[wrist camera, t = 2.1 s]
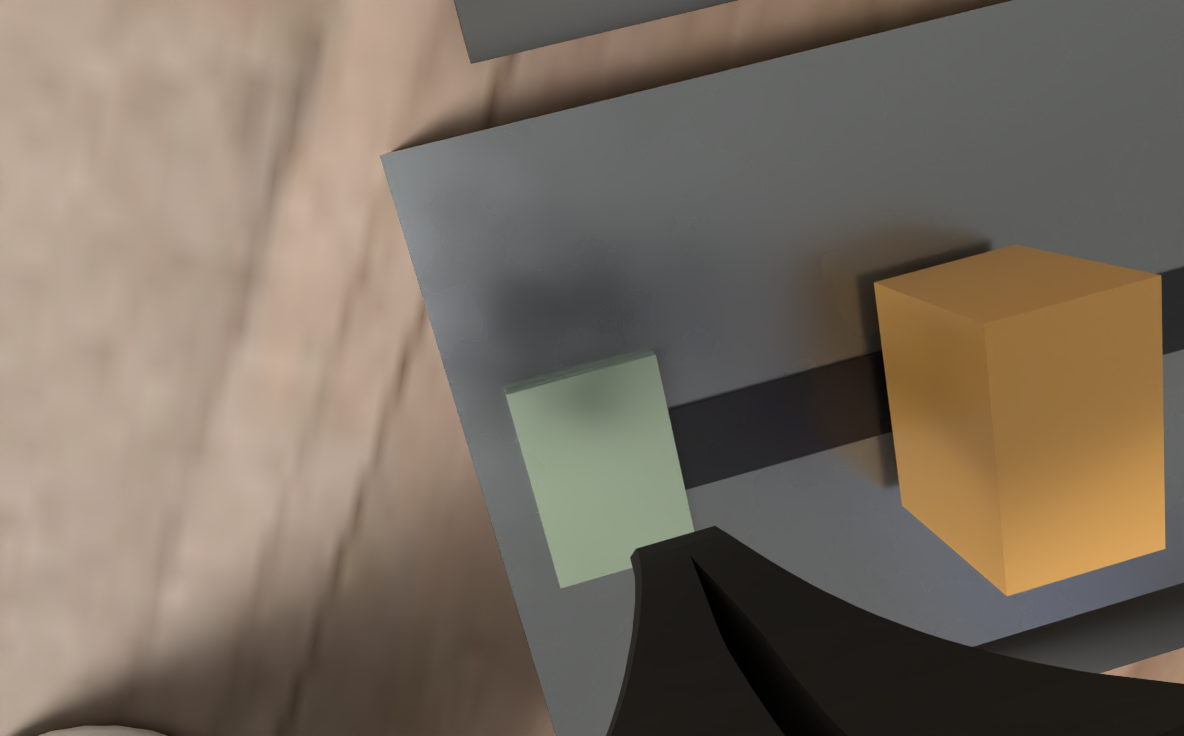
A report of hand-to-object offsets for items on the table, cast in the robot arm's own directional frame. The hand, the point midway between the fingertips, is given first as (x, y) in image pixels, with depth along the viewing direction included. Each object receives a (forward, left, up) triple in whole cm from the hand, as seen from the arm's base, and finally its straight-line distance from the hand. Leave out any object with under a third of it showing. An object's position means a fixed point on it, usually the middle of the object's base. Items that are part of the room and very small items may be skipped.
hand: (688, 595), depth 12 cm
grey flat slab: (-5, -5, -7) cm, 10 cm away
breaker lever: (-5, -5, -5) cm, 8 cm away
